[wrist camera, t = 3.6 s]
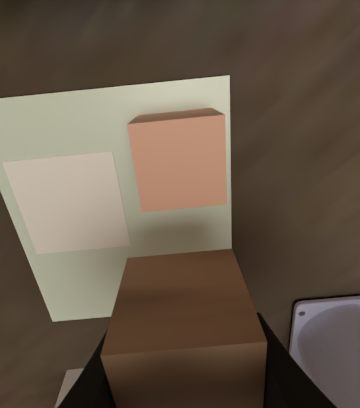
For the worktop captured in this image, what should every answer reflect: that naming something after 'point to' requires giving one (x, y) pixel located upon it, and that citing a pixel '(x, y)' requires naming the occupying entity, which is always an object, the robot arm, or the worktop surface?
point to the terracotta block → (179, 159)
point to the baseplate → (97, 189)
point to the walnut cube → (185, 335)
